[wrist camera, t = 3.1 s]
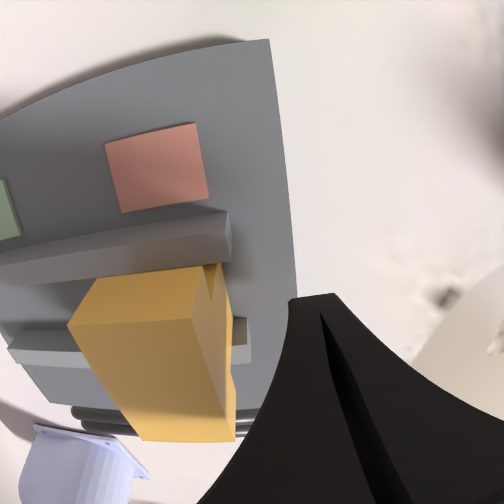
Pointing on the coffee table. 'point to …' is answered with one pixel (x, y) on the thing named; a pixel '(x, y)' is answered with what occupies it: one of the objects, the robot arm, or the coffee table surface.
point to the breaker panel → (147, 212)
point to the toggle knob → (163, 351)
